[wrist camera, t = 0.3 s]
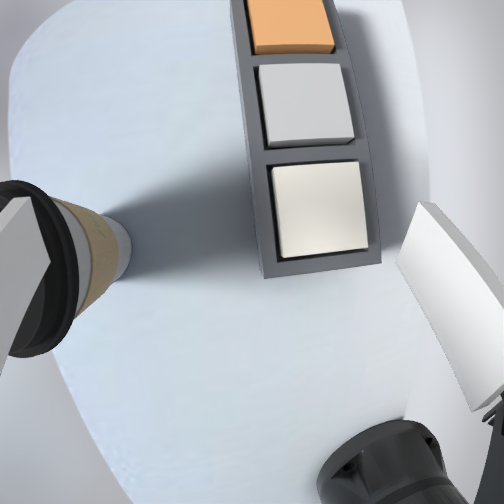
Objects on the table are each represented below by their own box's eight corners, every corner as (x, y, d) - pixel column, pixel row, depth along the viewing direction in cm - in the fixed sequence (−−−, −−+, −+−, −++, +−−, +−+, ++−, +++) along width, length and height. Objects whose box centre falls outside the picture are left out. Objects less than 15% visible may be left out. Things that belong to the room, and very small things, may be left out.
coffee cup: (153, 196, 26) (61, 169, 11) (151, 307, 27) (70, 386, 12) (60, 197, 26) (-60, 184, 11) (60, 298, 26) (-49, 349, 11)
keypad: (360, 257, 27) (381, 263, 23) (260, 269, 27) (264, 278, 22) (318, 14, 25) (328, -12, 20) (230, 16, 25) (229, -12, 20)
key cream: (358, 245, 23) (367, 247, 21) (280, 254, 23) (283, 257, 21) (349, 166, 23) (358, 161, 21) (270, 172, 23) (273, 167, 21)
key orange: (328, 56, 22) (334, 44, 20) (255, 57, 22) (256, 45, 20) (314, 4, 22) (319, -9, 20) (247, 5, 21) (247, -9, 19)
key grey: (345, 143, 23) (354, 137, 21) (267, 148, 23) (270, 141, 21) (332, 74, 22) (339, 63, 20) (258, 76, 22) (259, 65, 20)
